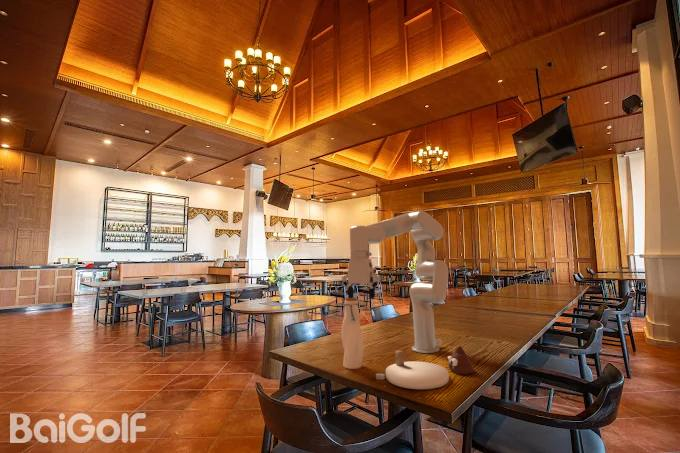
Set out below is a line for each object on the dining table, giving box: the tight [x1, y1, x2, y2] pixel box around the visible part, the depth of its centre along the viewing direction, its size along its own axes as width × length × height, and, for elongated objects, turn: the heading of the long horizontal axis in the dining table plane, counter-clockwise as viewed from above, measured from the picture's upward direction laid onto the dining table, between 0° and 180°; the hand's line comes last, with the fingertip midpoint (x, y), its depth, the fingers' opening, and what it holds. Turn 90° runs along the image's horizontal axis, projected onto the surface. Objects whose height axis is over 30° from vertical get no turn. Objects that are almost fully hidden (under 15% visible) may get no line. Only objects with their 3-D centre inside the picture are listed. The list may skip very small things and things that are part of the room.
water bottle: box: [340, 295, 364, 370], centre depth 132 cm, size 10×9×28 cm
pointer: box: [375, 373, 386, 380], centre depth 116 cm, size 3×1×2 cm, turn 82°
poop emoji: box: [446, 345, 474, 376], centre depth 121 cm, size 10×8×9 cm
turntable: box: [385, 350, 450, 390], centre depth 114 cm, size 22×22×7 cm
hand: (361, 298), depth 128 cm, fingers open, 9 cm apart
